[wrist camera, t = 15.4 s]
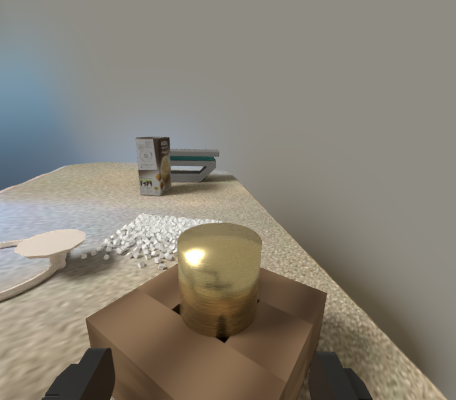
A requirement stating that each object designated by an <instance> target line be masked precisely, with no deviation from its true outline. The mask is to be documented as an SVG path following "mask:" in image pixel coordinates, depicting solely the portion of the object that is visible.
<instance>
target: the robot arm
mask: <svg viewBox="0 0 456 400" xmlns="http://www.w3.org/2000/svg"><path fill="white" fill-rule="evenodd" d="M114 385H115V369H114V362H113V356H112V350H111V348H89V349H88V350H87V351H86V352H85V354H84V356H83V357H82V359H81V361H80V362H79V364H71V365H70V366H68V367H67V368H66V369H65V370H64V371H63V372H62V373H61V374H60V375H59V376H58V377H57V378H56V379H55V380H54V382H53V383H52V385H51V386H50V388H49V389H48V391H47V392H46V394H45V397H44V398H42V400H110V398H111V396H112V393H113V390H114ZM309 390H310V395H311V399H312V400H373V399H372V397H371V395H370V393H369V391H368V390H367V388H366V386H365V384H364V382H363V381H362V380H361V379H360V378H359V377H358V376H357V375H356V373H355V372H354V371H353V370H352V369H351V368H343V367H342V365H341V363H340V361H339V359H338V357H337V355H336V354H335V353H334V352H314V353H313V358H312V364H311V369H310V375H309Z"/></svg>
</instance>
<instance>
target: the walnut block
mask: <svg viewBox="0 0 456 400" xmlns="http://www.w3.org/2000/svg"><path fill="white" fill-rule="evenodd" d="M326 297H327V293H325V292H323V291H320V290H318V289H315V288H312V287H310V286H307V285H305V284H302V283H299V282H297V281H294V280H292V279H289V278H286V277H284V276H281V275H279V274H276V273H273V272H271V271H268V270H266V269H263V268H260V274H259V287H258V300H257V312H256V316H255V319H254V321H253V322H252V324H251V325H250V326H249V327H248V328H246V329H245V330H244V331H242V332H240V333H238V334H236V335H233V336H230V338H229V339H228V340H227V341H226V342H225V343H223V342H222V341H220V340H218V339H217V338H213V337H207V336H203V335H200V334H198V333H196V332H194V331H192V330H191V329H190V328H188V327H187V326H186V325H185V323H184V322H183V320H182V318H181V315H180V302H179V277H178V264H176V265H174V266H173V267H171V268H169V269H168V270H166V271H164V272H163V273H161V274H159V275H158V276H156V277H154V278H153V279H151V280H149V281H148V282H146V283H144V284H143V285H141V286H139V287H138V288H136V289H134V290H133V291H131V292H129V293H128V294H126V295H124V296H123V297H121V298H119V299H118V300H116V301H114V302H113V303H111V304H109V305H108V306H106V307H104V308H103V309H101V310H99V311H98V312H96V313H94V314H93V315H91V316H89V317H88V318H86V324H87V329H88V335H89V340H90V345H91V348H111V350H112V356H113V362H114V369H115V385H114V390H113V393H112V396H113V397H114V398H115V399H116V400H297V397H298V395H299V392H300V389H301V387H302V384H303V382H304V379H305V377H306V374H307V371H308V369H309V366H310V364H311V361H312V358H313V353H314V352H315V351H316V348H317V346H318V341H319V335H320V330H321V324H322V319H323V313H324V308H325V302H326Z"/></svg>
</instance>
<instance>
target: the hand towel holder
mask: <svg viewBox="0 0 456 400" xmlns="http://www.w3.org/2000/svg"><path fill="white" fill-rule="evenodd" d="M85 236H86V233H85V232H82V231H79V230H76V229H68V230H55V231H50V232H46V233H42V234H38V235H35V236H33V237H30V238H28V239H23V240H13V241H8V242H2V243H0V249H2V248H7V247H13V246H17V247H16V248H15V250H14V252H16V253H18V254H20V255H22V256H24V257H27V258H29V259H33V258H49V259H50V265H49V268H48V269H47V270H45V271H43V272H42V273H40V274H38V275H37V276H35V277H33V278H32V279H30V280H28V281H25V282H23V283H21V284H19V285H17V286H14V287H12V288H10V289H7V290H4V291H1V292H0V301H2V300H5V299H8V298H11V297H13V296H16V295H18V294H20V293H22V292H24V291H26V290H28V289H30V288H32V287H34V286H36V285H37V284H39V283H41V282H42V281H44V280H45V279H47V278H48V277H50V276H51V275H52V274H53V273H55V272H56V271H57V270H60V269H63V268H64V267H65V266H66V261H65V259H66V257H67V252H70V251H71V250H73V249H74V248H76V247H77V246H79V245H81V244H82V243H83V242H84V240H85Z"/></svg>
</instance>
